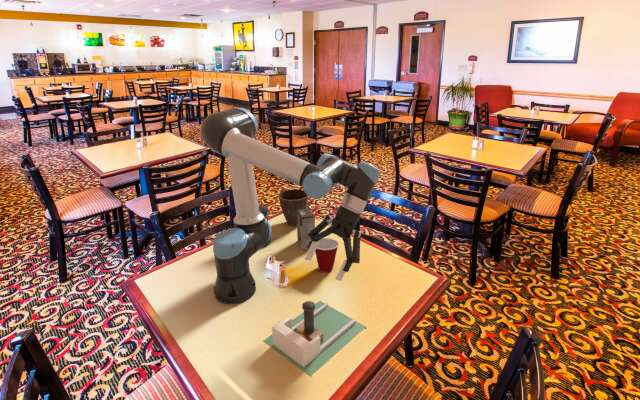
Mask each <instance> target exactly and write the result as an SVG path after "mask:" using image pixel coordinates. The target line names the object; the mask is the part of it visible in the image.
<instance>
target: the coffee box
mask: <svg viewBox="0 0 640 400" xmlns="http://www.w3.org/2000/svg"><path fill="white" fill-rule="evenodd" d="M296 213H297V226H296V232H297V233H296V235H297V243H298V244H299V246H300V249H301V250H302V251H303V250H309V249H308V246H309V244H310V242H311V238H310V236H308V234H309V233H310V232H311V231H312V230H313V229H314V228H315V227H316V217H315V214H314V212H313V211H312V210H311V209H310V208H309V207H308V208H306V209H299V210H296Z"/></svg>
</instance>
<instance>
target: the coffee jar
mask: <svg viewBox="0 0 640 400" xmlns="http://www.w3.org/2000/svg"><path fill="white" fill-rule="evenodd" d="M259 212H261V213H262V214H263V215H264V217H265V218H266V219H267V221H268V222H269V216H270V211H269V207H268V205H259ZM271 241H272V237H270V239H269V240H268V241H267V243H266V244H265V245H264V246H263V247H266V246H268V245H270V244H271Z"/></svg>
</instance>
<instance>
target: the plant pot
mask: <svg viewBox="0 0 640 400" xmlns="http://www.w3.org/2000/svg"><path fill="white" fill-rule="evenodd" d="M277 197H278V200H279V204H280V208H281V211H282V214H283V217H284V219H285V221H286V223H287V225H288V226H291V227H297V213H296V210H299V209H307V207H308V201H309V196H308V195H307V194H306V193H305V192H304V190H303V189H298V188H296V189H292V188H291V189H286V190H283V191H281V192H280V193H278V196H277Z"/></svg>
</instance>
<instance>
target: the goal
mask: <svg viewBox="0 0 640 400" xmlns="http://www.w3.org/2000/svg"><path fill="white" fill-rule="evenodd" d="M292 320H293V319H292V317H290V316H288V317H287V318H285V319H284V320H283V321H278V322H277V323H275V324H273V325H271V332H272V333H271V335H273V345H275V346H276V347H277V348H279V349H280V350H281V351H283V352H284V353H285V354H287V355H288V356H289V357H291V358H292V359H293V360H295V361H296V362H297V363H299V364H300V365H301V366H303V367H305V366H306V365H307V364H308V363H310V362H311V361H312V360H313V359H314V358H315V357H317V356H318V355H319V354H320V353H321V349H320V337H319V336H317V337H315V338H314V339H313V340H312V341H310V342H309V341H308V340H306V339H305V338H303V337H302V336H300V335H299V334H297V333H296V332H294V331H293V330H292Z"/></svg>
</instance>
